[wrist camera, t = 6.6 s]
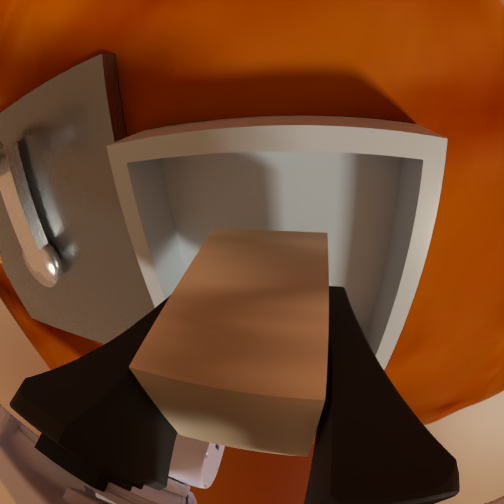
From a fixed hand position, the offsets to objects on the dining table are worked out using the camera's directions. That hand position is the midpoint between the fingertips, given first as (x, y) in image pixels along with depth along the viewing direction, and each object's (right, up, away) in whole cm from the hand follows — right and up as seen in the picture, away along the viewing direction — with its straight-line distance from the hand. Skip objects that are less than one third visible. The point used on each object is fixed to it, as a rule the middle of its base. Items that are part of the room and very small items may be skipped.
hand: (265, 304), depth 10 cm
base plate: (-16, +3, +7) cm, 18 cm away
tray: (+1, +2, +3) cm, 4 cm away
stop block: (0, +1, +1) cm, 1 cm away
